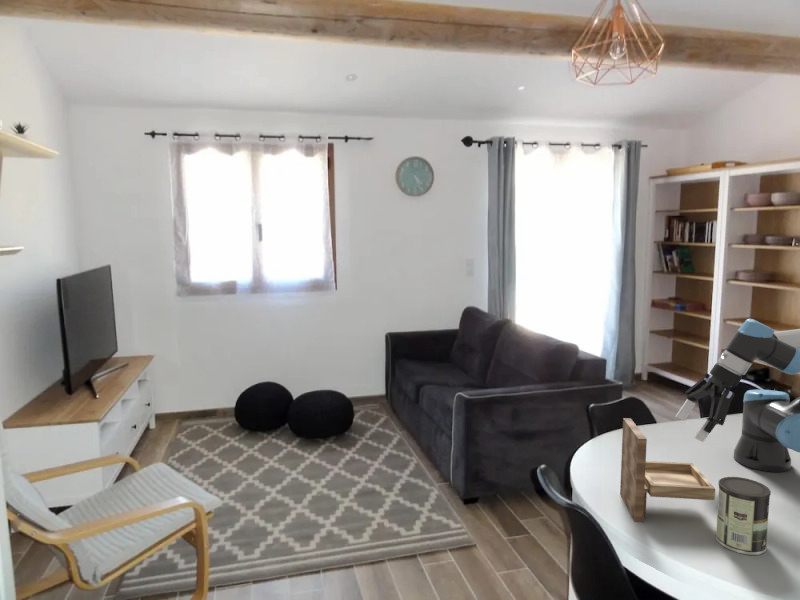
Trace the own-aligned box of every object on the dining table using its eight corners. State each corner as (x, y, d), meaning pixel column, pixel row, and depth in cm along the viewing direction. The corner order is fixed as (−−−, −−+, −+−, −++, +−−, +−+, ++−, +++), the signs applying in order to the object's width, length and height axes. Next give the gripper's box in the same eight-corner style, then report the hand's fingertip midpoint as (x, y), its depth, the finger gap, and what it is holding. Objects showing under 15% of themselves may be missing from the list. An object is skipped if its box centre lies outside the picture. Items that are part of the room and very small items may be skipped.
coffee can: (755, 533, 133) (759, 477, 131) (774, 557, 123) (779, 498, 121) (708, 529, 135) (712, 474, 133) (724, 552, 125) (728, 494, 123)
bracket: (712, 526, 136) (718, 441, 133) (634, 521, 139) (638, 438, 136) (690, 497, 151) (695, 420, 148) (620, 493, 154) (623, 418, 151)
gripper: (699, 349, 170) (662, 405, 175) (739, 379, 146) (694, 443, 151) (721, 360, 170) (683, 415, 175) (764, 391, 146) (719, 455, 151)
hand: (688, 428), depth 163 cm, fingers open, 13 cm apart
